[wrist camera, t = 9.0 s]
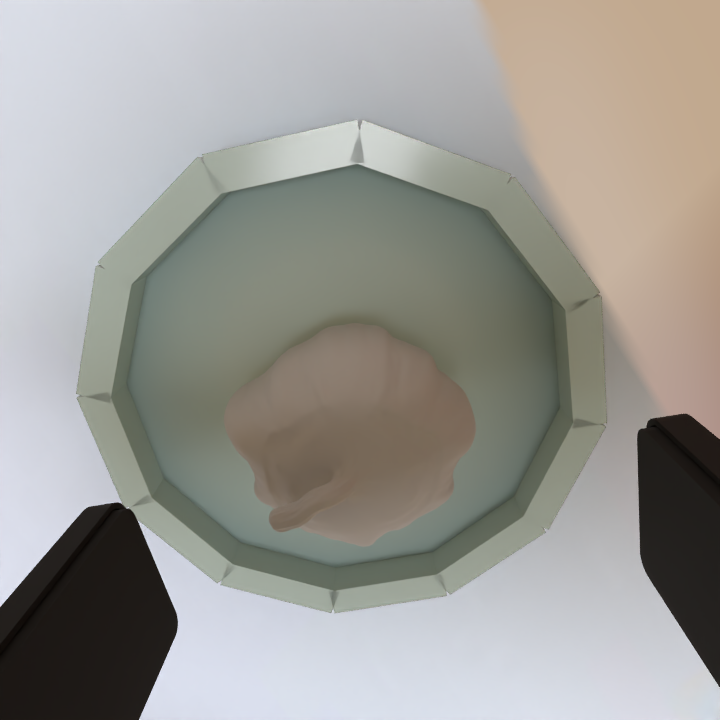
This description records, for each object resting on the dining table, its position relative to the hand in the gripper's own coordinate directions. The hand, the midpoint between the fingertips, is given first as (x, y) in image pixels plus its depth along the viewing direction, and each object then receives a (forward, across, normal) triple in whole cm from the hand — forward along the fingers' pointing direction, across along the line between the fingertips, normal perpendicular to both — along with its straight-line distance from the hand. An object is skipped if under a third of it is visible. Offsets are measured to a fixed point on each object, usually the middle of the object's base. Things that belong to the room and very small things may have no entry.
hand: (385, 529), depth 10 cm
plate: (+7, +1, 0) cm, 7 cm away
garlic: (+6, +1, 0) cm, 6 cm away
